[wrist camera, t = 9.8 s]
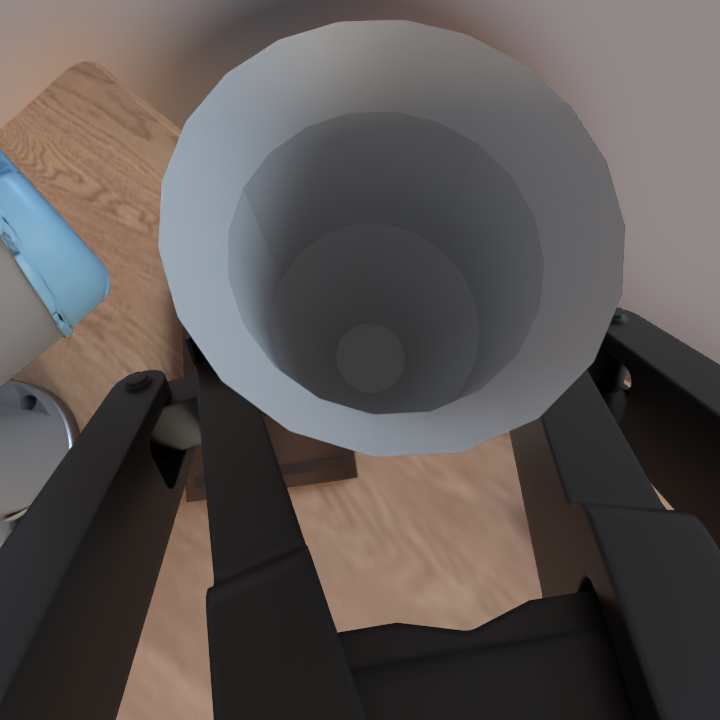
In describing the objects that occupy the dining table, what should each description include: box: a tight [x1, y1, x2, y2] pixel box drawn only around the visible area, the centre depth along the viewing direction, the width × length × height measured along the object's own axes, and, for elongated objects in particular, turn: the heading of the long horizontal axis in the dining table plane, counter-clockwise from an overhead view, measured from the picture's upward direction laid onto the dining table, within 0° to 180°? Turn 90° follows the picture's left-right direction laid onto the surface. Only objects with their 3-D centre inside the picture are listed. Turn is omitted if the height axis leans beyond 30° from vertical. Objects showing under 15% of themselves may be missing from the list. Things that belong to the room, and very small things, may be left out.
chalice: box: [158, 20, 625, 457], centre depth 14 cm, size 7×7×18 cm
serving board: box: [183, 325, 358, 502], centre depth 35 cm, size 14×20×2 cm
